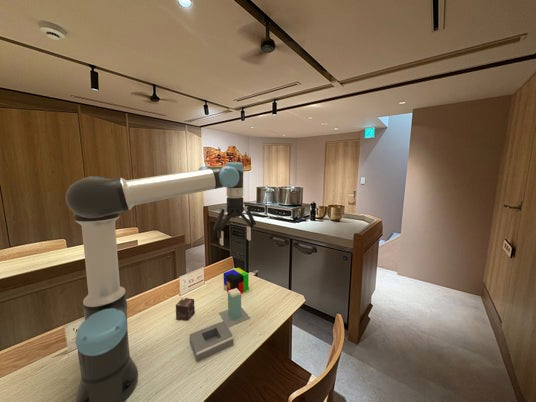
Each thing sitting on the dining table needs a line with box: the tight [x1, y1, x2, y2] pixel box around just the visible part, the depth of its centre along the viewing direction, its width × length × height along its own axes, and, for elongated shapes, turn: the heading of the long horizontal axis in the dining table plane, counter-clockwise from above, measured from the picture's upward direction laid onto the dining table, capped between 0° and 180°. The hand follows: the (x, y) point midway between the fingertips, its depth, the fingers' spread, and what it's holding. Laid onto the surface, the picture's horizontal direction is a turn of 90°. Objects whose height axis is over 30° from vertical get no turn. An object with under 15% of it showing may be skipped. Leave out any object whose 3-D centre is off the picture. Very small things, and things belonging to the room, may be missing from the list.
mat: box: [218, 306, 251, 328], centre depth 98 cm, size 11×11×1 cm
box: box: [175, 297, 196, 322], centre depth 97 cm, size 6×6×7 cm
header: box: [189, 320, 235, 362], centre depth 82 cm, size 14×10×4 cm
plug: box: [227, 288, 242, 320], centre depth 97 cm, size 4×4×12 cm
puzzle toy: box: [223, 267, 250, 295], centre depth 120 cm, size 10×10×10 cm
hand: (235, 242), depth 99 cm, fingers open, 13 cm apart
